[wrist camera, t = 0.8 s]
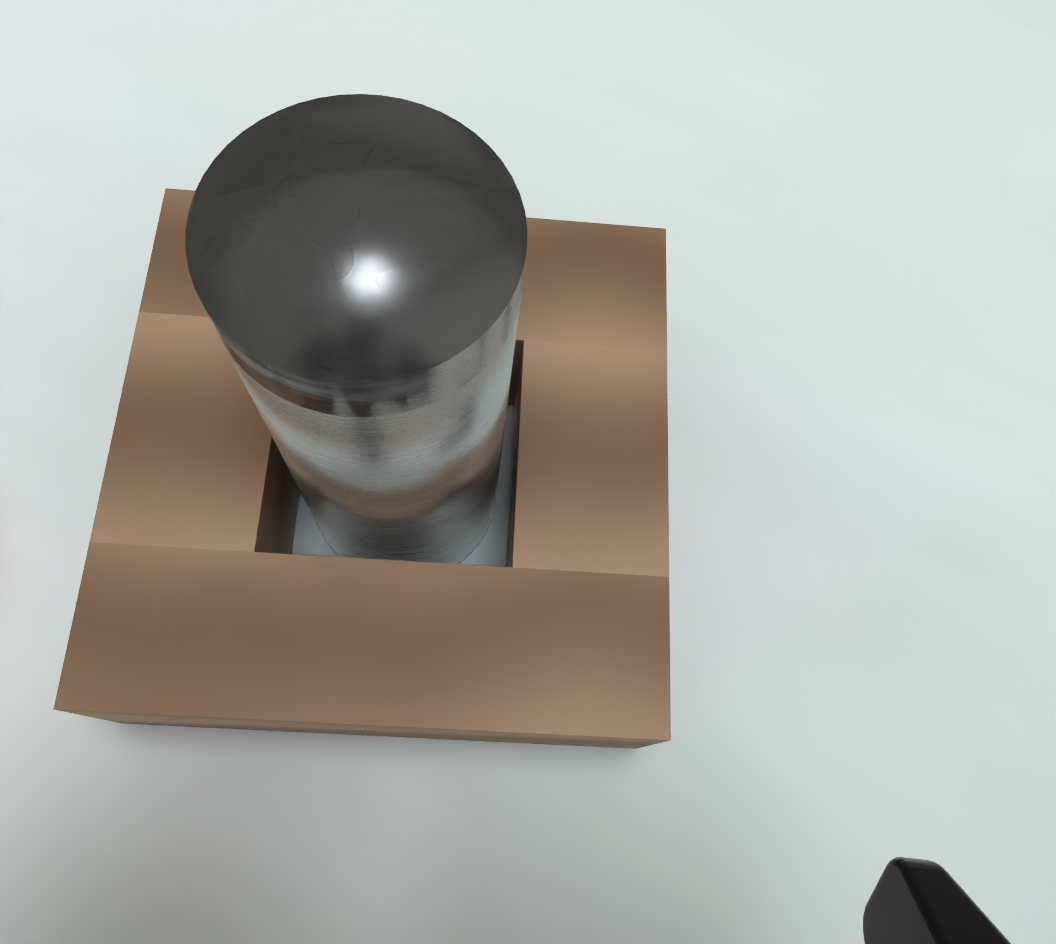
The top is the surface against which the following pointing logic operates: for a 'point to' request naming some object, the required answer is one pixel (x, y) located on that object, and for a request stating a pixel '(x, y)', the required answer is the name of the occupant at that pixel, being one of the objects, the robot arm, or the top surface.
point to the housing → (389, 585)
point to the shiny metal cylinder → (370, 312)
